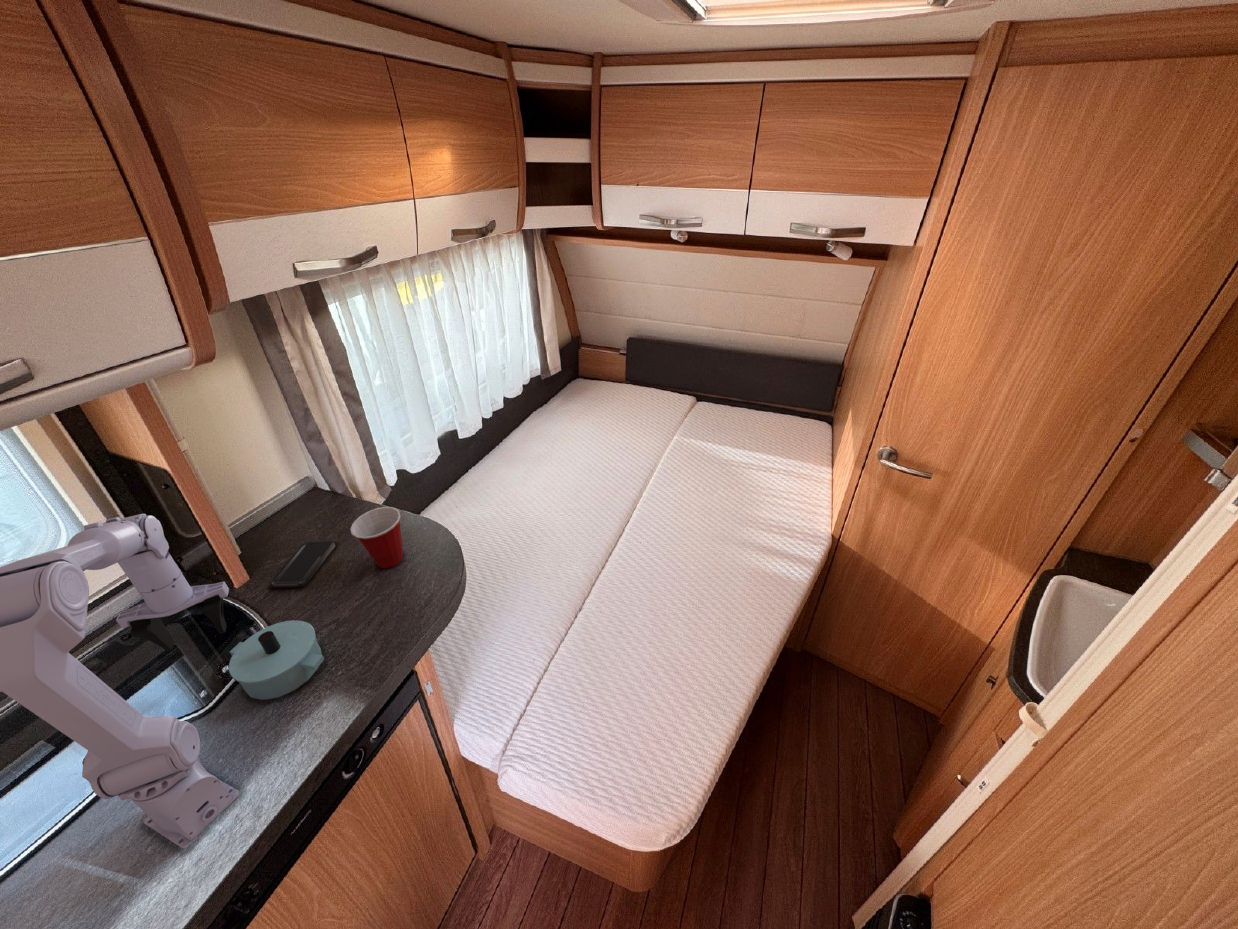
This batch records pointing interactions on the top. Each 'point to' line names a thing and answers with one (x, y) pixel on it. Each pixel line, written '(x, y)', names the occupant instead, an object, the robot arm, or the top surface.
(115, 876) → the top surface
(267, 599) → the top surface
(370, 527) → the plastic cup
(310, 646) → the lid
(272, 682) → the pot
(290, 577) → the phone
